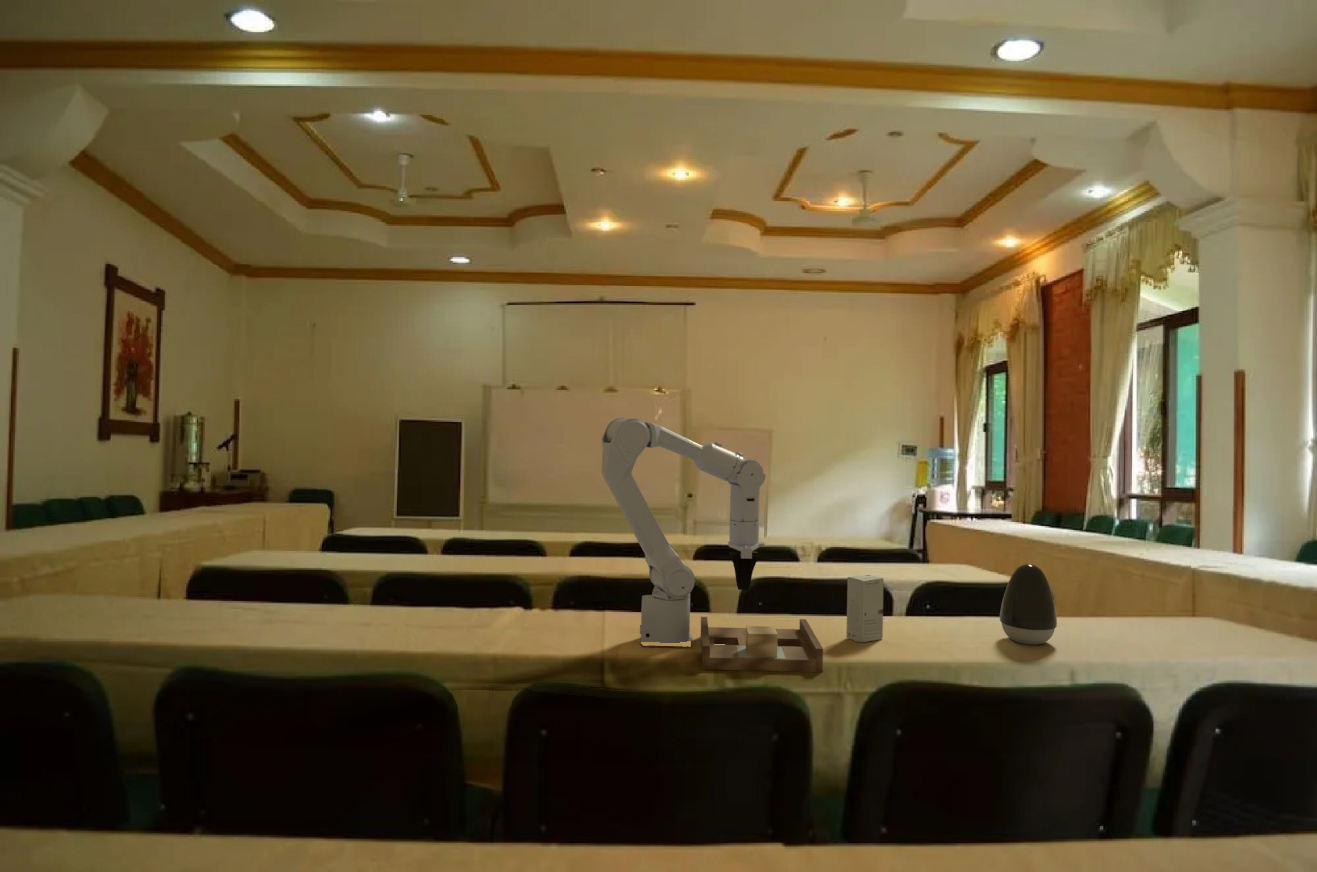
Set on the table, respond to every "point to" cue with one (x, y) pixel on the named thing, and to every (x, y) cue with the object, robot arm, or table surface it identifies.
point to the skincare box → (865, 608)
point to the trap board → (792, 655)
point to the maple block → (761, 641)
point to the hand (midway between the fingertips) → (743, 589)
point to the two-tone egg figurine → (1028, 607)
